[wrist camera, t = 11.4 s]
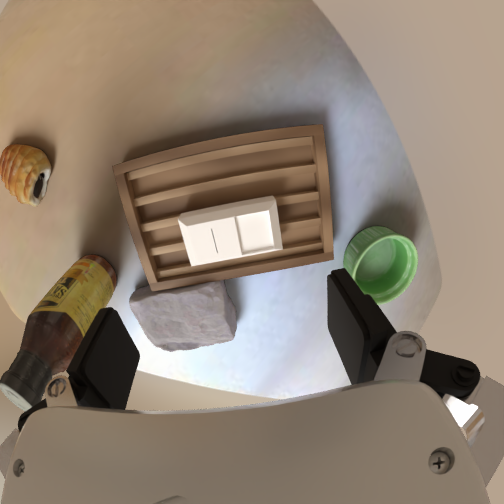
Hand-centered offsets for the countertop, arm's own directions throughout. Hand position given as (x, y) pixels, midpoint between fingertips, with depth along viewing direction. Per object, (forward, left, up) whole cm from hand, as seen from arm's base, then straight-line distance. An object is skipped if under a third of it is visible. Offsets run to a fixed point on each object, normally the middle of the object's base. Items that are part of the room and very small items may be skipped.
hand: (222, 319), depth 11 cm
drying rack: (0, 0, -18) cm, 18 cm away
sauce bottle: (+5, -18, -18) cm, 26 cm away
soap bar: (+2, 0, -17) cm, 17 cm away
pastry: (-10, -23, -19) cm, 32 cm away
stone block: (+12, -8, -19) cm, 24 cm away
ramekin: (+9, +16, -19) cm, 26 cm away
